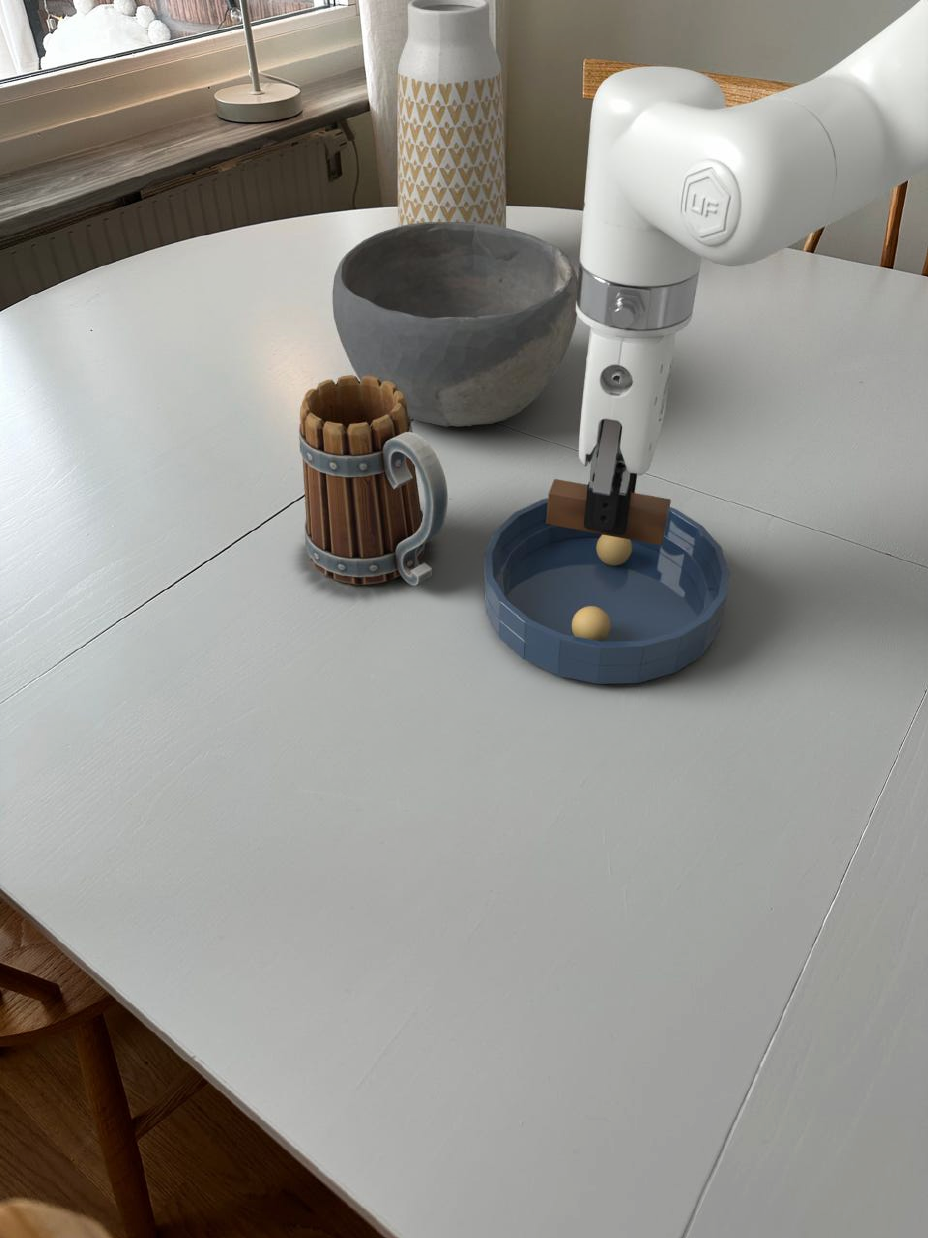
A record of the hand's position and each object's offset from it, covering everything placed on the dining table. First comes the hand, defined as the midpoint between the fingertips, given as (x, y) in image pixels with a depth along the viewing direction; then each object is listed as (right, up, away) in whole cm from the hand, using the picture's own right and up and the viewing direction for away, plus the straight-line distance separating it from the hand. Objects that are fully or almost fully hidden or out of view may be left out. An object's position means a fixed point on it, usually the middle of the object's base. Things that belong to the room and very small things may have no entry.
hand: (608, 517), depth 75 cm
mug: (-18, -3, +10) cm, 21 cm away
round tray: (0, -7, +6) cm, 9 cm away
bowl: (-12, +16, +30) cm, 36 cm away
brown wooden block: (0, -1, +1) cm, 1 cm away
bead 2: (+2, -2, +8) cm, 8 cm away
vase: (-13, +38, +54) cm, 67 cm away
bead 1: (-1, -8, +1) cm, 8 cm away
